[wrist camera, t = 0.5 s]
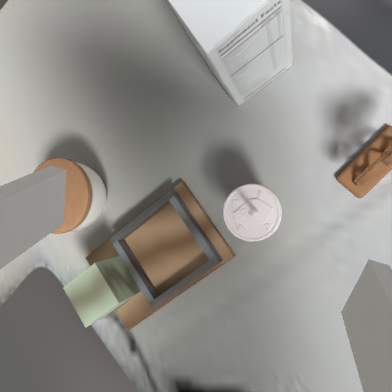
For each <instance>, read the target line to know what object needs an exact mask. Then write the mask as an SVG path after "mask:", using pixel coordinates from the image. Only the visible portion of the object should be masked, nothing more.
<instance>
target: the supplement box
mask: <svg viewBox="0 0 392 392" xmlns="http://www.w3.org/2000/svg"><path fill="white" fill-rule="evenodd" d="M166 1H167V2H168V4H169V5H170V7H171V8H172V10H173V12H174V13H175V15H176V16H177V18H178V19H179V21H180V23H181V24H182V26H183V27H184V29H185V31H186V32H187V34H188V35H189V37H190V38H191V40H192V41H193V43H194V44H195V46H196V48H197V49H198V51H199V52H200V54H201V55H202V57H203V58H204V59H205V61H206V63H207V65H208V66H209V68H210V69H211V70H212V72H213V73H214V75H215V76H216V78H217V79H218V80H219V82H220V83H221V84H222V86H223V87H224V89H225V90H226V91H227V93H228V94H229V95H230V97H231V98H232V99H233V101H234V102H235V103H236V105H237V106H240V105H241V104H242V103H244V102H245V101H246V100H248V99H249V98H250V97H252V96H253V95H254V94H256V93H257V92H258V91H259V90H261V89H262V88H263V87H265V86H266V85H267V84H268V83H270V82H271V81H272V80H274V79H275V78H276V77H278V76H279V75H280V74H281V73H283V72H284V71H285V70H287V69H288V68H289V67H290V66H292V65H293V48H292V19H291V0H166Z"/></svg>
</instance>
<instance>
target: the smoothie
mask: <svg viewBox="0 0 392 392" xmlns="http://www.w3.org/2000/svg"><path fill="white" fill-rule="evenodd" d="M223 217H224V221H225V224H226V226H227V228H228V229H229V231H230V232H231V233H232V234H233V235H235V236H236V237H237V238H239V239H242V240H245V241H250V242H255V241H260V240H263V239H266V238H267V237H269V236H271V235H272V234H273V233H274V232H275V231H276V230H277V228H278V226H279V224H280V222H281V217H282V210H281V205H280V202H279V199H278V198H277V197H276V195H275V194H274V193H273V192H272V191H271V190H270V189H268V188H266V187H264V186H262V185H258V184H246V185H243V186H240V187H238V188H236V189H235V190H233V191H232V192H231V193H230V194H229V196H228V197H227V199H226V201H225V204H224V208H223Z"/></svg>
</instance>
